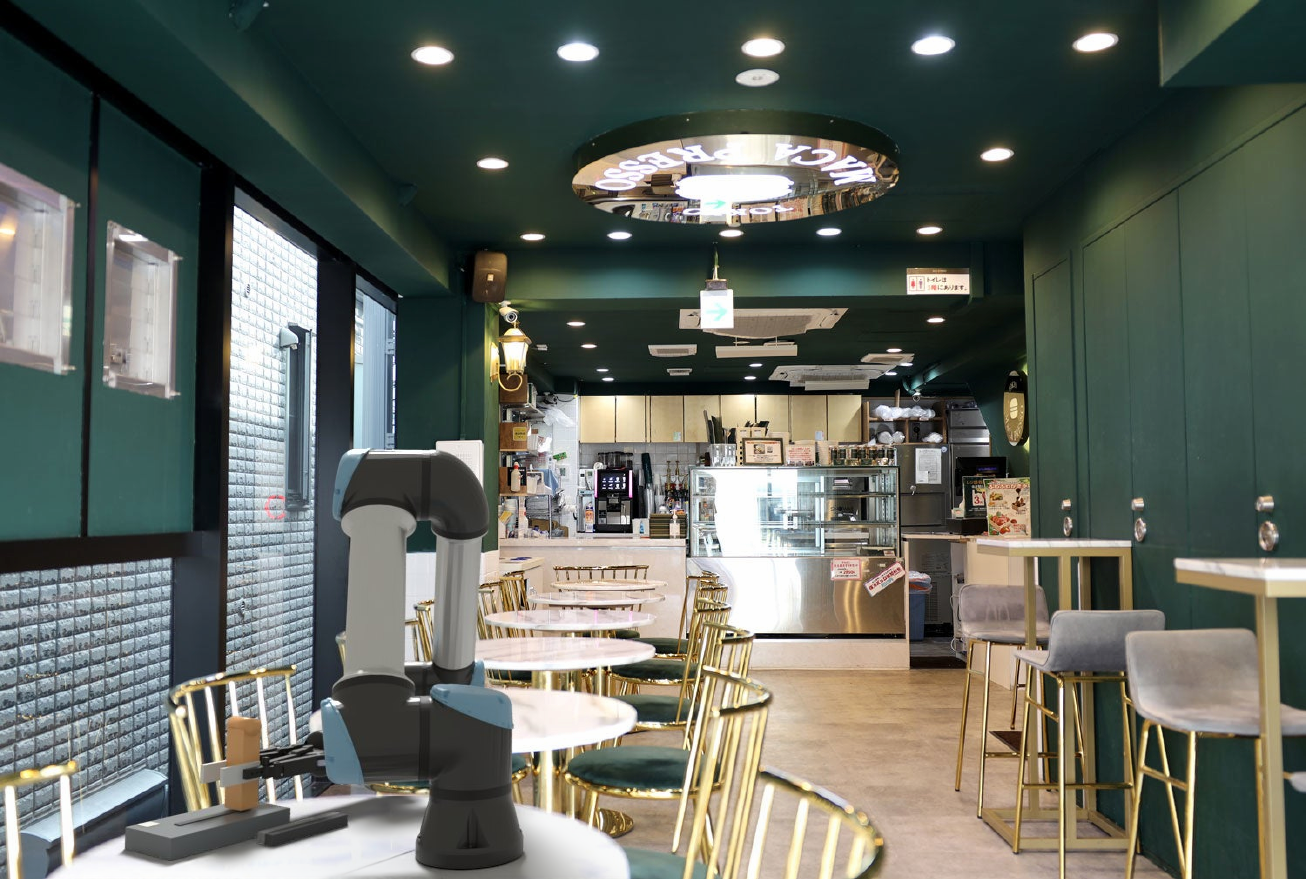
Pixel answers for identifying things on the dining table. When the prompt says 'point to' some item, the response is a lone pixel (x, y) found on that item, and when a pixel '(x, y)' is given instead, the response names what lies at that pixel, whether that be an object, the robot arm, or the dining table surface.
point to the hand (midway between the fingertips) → (211, 775)
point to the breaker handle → (242, 760)
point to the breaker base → (202, 830)
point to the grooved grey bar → (302, 828)
